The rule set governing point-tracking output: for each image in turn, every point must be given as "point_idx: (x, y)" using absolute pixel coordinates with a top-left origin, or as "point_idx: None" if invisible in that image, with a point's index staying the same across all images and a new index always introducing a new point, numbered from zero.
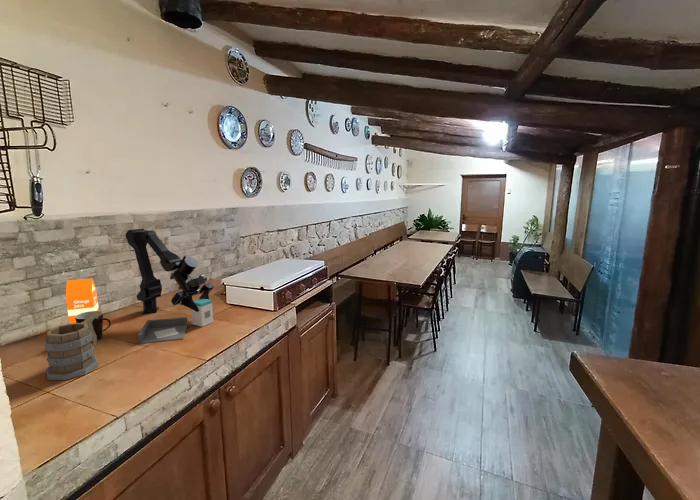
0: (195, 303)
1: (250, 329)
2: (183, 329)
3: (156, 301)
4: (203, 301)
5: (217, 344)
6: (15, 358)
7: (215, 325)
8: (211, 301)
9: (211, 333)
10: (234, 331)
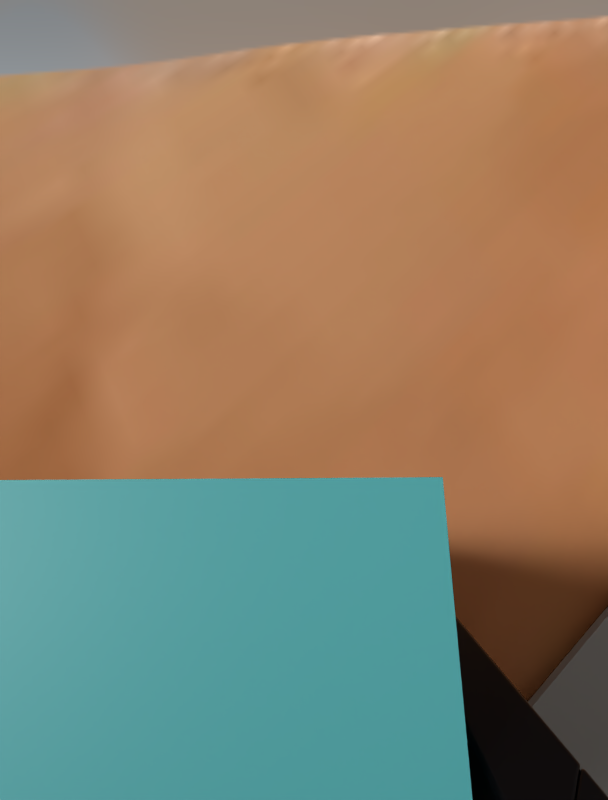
0: (462, 783)
1: (184, 79)
2: (596, 690)
3: None
4: (196, 638)
5: (574, 96)
6: None
7: (249, 431)
8: (20, 486)
9: (443, 300)
10: (287, 156)
